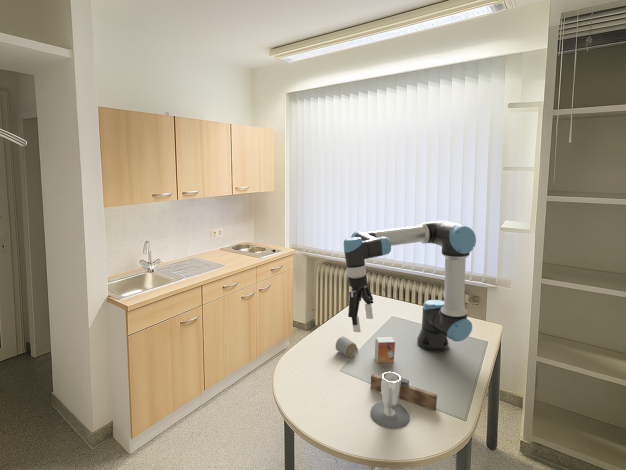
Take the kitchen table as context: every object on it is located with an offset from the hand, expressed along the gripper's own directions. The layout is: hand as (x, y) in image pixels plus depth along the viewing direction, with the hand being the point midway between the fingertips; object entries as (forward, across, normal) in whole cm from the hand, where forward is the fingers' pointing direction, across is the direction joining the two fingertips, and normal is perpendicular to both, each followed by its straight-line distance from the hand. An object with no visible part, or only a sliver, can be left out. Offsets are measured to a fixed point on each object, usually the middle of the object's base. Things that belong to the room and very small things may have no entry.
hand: (363, 325), depth 155 cm
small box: (+26, -19, -1) cm, 32 cm away
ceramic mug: (+23, -17, -18) cm, 34 cm away
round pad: (+27, +17, +14) cm, 34 cm away
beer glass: (+27, +17, +14) cm, 34 cm away
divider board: (+28, +5, +14) cm, 31 cm away
